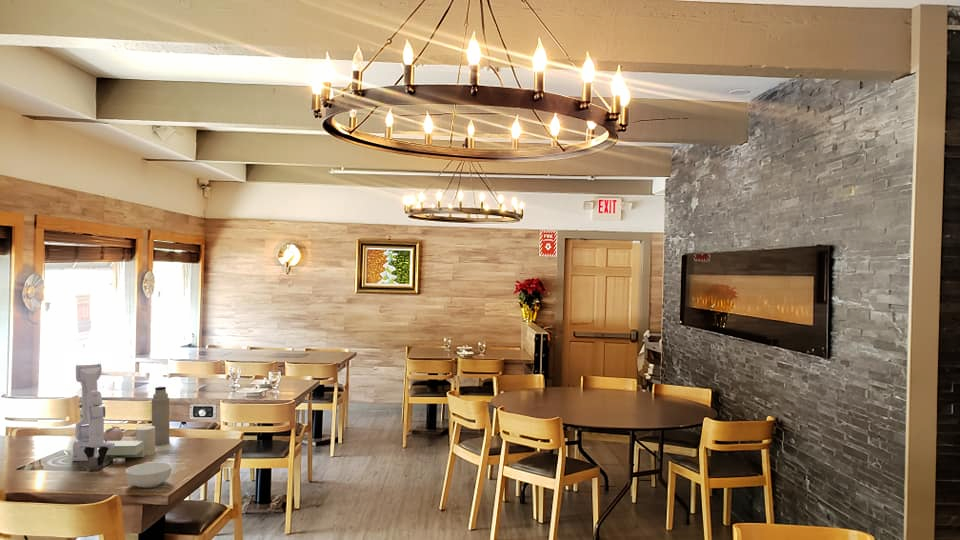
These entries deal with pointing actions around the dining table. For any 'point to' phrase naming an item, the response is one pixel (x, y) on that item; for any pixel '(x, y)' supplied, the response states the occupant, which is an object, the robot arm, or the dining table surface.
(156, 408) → the thermos bottle
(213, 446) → the dining table surface
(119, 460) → the token
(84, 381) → the robot arm
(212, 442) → the dining table surface
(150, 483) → the cereal bowl
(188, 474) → the dining table surface
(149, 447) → the beige cylinder
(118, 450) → the pale green rectangular block
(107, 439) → the decorative fruit
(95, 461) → the dark grey long block
